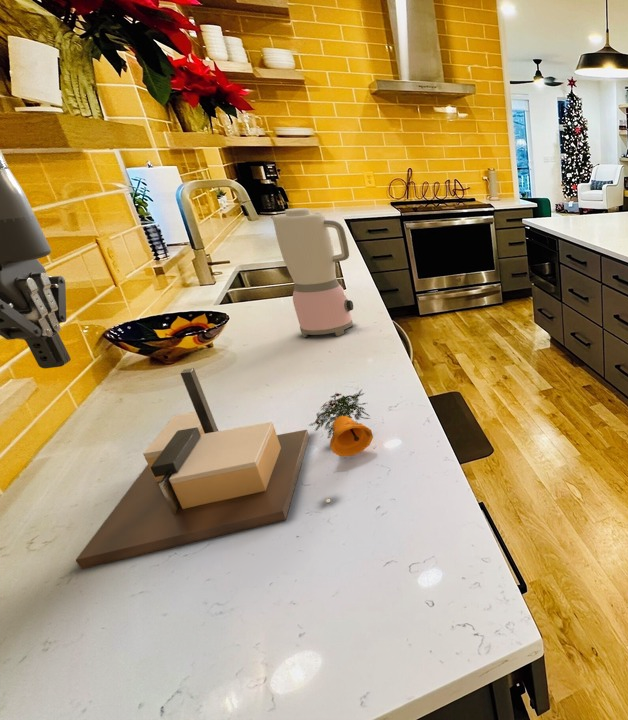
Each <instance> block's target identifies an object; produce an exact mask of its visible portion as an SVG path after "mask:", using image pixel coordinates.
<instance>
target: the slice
mask: <svg viewBox="0 0 628 720" xmlns="http://www.w3.org/2000/svg"><path fill="white" fill-rule="evenodd" d="M196 427H198V430H199V432H200V434H205V433H204V431H203V428H202V426H201V423H200V421H199V418H198V416H197V413H196V411H193V412H192V411H191V412H186V413H185V412H184V413H179V414H174V415H173V416H172V417H171V418H170V420H169V421H168V422H167V423H166V425H164V427H163V428H162V430H161V431H160V432H159V434H158V435H157V436H156V437H155V438H154V440H153V441H152V442H151V443H150V444H149V446H147V448H146V450H145V451H144V452H143V453H142V454H143V455H142V456H143V457H144V459H145V462H146V463H147V465H149V467H151V466H152V464H153V463H154V462H155V460H156V459H157V458H158V456H159V455H160V454H161V452H162V451H163V450H164V448H165V447H166V446H167V444H168V443H169V441H170V440H171V439H172V437H173V436H174V435H175V433H176V432H177V431H178V430H184V429H190V428H196ZM150 469H151V468H150ZM151 472H152V470H151ZM152 474H153V472H152ZM153 476H154V474H153ZM164 476H165V475H163V476H158V477H154V478H155V480H156V482H160V481H161V480H162V478H163V477H164Z"/></svg>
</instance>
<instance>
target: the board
mask: <svg viewBox="0 0 628 720" xmlns="http://www.w3.org/2000/svg"><path fill="white" fill-rule="evenodd" d="M180 376H181V379H182V382H183V383H184V386H185V388H186V391H187V393H188V396H189V398H190V401H191V404H192V406H193V409H194V410H195V411H194V412H196V413H197V416H198V418H199V421H200V423H201V426H202V428H203V431H204V433H205V434H206V433H212V432H217V431H219V429H218V427H217V424H216V421H215V418H214V416H213V413H212V411H211V409H210V406H209V404H208V400H207V397H206V395H205V393H204V391H203V387H202V385H201V382H200V380H199V377H198V375H197V372H196V370H195V368H194V367H192V368H184V369H183V370H182V371H181V372H180ZM309 434H310V433H309V432H308V429H303V430H296V431H292V432H286V433H280V434H277V437H278V440H279V443H280V446H281V449H280V452H279V455H278V458H277V461H276V463H275V466H274V469H273V472H272V474H271V477H270V480H269V483H268V485H267V488H266V491H262V492H258V493H253V494H249V495H244V496H240V497H235V498H231V499H226V500H221V501H217V502H212V503H208V504H203V505H199V506H194V507H190V508H185V509H182V507H180V508H179V510H178V512H177V513H176V514H172V512H171V509H170V507H169V505H168V503H167V501H166V499H165V497H164V495H163V492H162V490H161V488H160V486H159V483H160V482H156V480H155V478H154V476H153V474H152V472H151V469H150V467H149V465H148V464H147V465H146V466H145V467H144V468H143V470H142V471H141V472H140V474H139V475H138V476H137V478H136V479H135V481H133V483H132V485H131V486H130V487H129V488H128V490H127V491H126V492H125V494H124V495H123V496H122V498H121V499H120V500H119V502H118V503H117V504H116V506H115V507H114V508H113V510H112V511H110V514H109V515H108V516H107V518H106V519H105V520H104V521H103V523H102V524H101V525H100V527H99V528H98V529H97V531H96V532H95V533H94V535H93V536H92V537H91V538H90V540H89V541H88V543H87V544H86V546H85V547H83V549H82V551H81V552H80V553H79V554H78V556H76V558H75V562H76V564H77V565H78V566H79V569H80V570H83V569H87V568H91V567H96V566H100V565H105V564H107V563H112V562H116V561H120V560H124V559H129V558H132V557H136V556H137V557H138V556H140V555H145V554H149V553H153V552H158V551H161V550H166V549H170V548H174V547H179V546H183V545H187V544H190V543H195V542H199V541H203V540H207V539H211V538H215V537H219V536H224V535H229V534H232V533H237V532H241V531H244V530H248V529H249V530H250V529H253V528H258V527H261V526H265V525H269V524H274V523H278V522H281V521H286V520H287V517H288V513H289V510H290V506H291V503H292V500H293V496H294V492H295V489H296V486H297V485H296V484H297V482H298V477H299V475H300V470H301V467H302V464H303V460H304V456H305V453H306V450H307V446H308V442H309V439H310V435H309Z"/></svg>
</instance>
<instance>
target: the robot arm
mask: <svg viewBox="0 0 628 720" xmlns="http://www.w3.org/2000/svg"><path fill="white" fill-rule="evenodd" d="M51 253H52V249H51V246H50V244H49V242H48V240H47V238H46V236H45V234H44V231H43V230H42V227H41V225H40V223H39V221H38V219H37V217H36V215H35V213H34V210H33V208H32V206H31V204H30V202H29V200H28V197H27V195H26V193H25V191H24V190H23V188H22V186H21V184H20V182H19V181H18V179H16V177H15V176H14V174H13V173H12V170H11V169H10V167H9V165H8V163H7V160H6V158H5V156H4V153H3V152H2V150H1V149H0V337H2V338H4V339H5V340H6V341H10V340H11V341H12V340H21V341H23V340H24V341H25V343H26V344H27V347H28V348H29V350H30V353H31V354H32V356H33V358H34V359H35V362H36V363H37V365H38V367H39V368H41V369H53V368H54V369H55V368H60V367H61V368H62V367H63V366H65V365H66V364H68V363H69V362H71V361H72V360H71V356H70V354H69V352H68V350H67V348H66V346H65V344H64V342H63V340H62V338H61V336H60V334H59V333H60V332H61V331H62V329H61V328H62V327H61V324H62V323H66V322H67V292H66V288H67V287H66V286H67V285H66V279H65V278H64V276H61V275H58V276H57V275H55V276H50V275H49V274H47V273H46V268H45V266H44V265H43V264H42V263H41V261H40V260H39V259H41V258H45V257H48V256H49V255H50V254H51ZM60 323H61V324H60Z"/></svg>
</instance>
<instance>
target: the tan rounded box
mask: <svg viewBox="0 0 628 720" xmlns="http://www.w3.org/2000/svg"><path fill="white" fill-rule="evenodd" d="M200 435H201V437H200V439H199V440H198V442H197V443H196V445H195V446H194V448H193V449H192V451H191V452H190V454H189V456H188V457H187V459H186V460H185V462H184V463H183V465H182V466H181V468H180V469H179V471H178V473H174V474H172V475H171V477H170V478H169V481H170V483H171V485H172V487H173V489H174V491H175V494H176V496H177V498H178V500H179V502H180V505H181V507H182V509H185V508H190V507H194V506H199V505H203V504H208V503H212V502H217V501H221V500H226V499H231V498H235V497H240V496H244V495H249V494H253V493H258V492H262V491H266V488H267V485H268V483H269V480H270V477H271V474H272V472H273V469H274V466H275V463H276V461H277V458H278V455H279V452H280V449H281V446H280V443H279V440H278V437H277V435H278V434H277V432H276V428H275V426H274V423H273V421H269V422H263V423H258V424H252V425H246V426H241V427H235V428H234V427H233V428H230V429H224V430H218V431H217V432H212V433H206V434H200Z"/></svg>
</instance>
